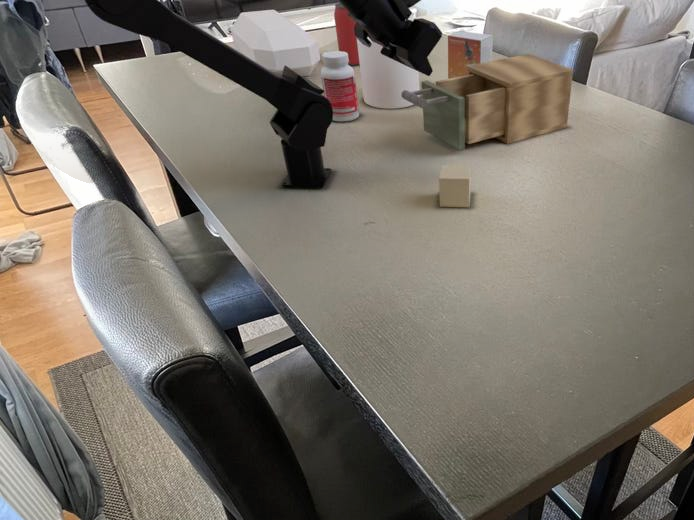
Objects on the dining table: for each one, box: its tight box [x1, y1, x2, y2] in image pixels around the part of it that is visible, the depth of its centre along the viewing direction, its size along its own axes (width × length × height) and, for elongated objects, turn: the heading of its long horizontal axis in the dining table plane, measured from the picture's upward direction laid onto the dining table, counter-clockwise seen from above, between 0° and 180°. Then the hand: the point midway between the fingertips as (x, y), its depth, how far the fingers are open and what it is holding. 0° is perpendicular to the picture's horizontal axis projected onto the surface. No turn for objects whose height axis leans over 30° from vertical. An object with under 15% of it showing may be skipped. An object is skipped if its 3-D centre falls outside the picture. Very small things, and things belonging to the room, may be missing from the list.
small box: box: [447, 30, 494, 79], centre depth 124 cm, size 8×6×10 cm
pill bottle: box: [320, 50, 360, 122], centre depth 111 cm, size 6×6×11 cm
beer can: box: [333, 2, 360, 66], centre depth 138 cm, size 7×7×12 cm
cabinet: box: [467, 53, 574, 145], centre depth 109 cm, size 15×13×10 cm
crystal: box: [230, 9, 321, 78], centre depth 135 cm, size 14×10×28 cm
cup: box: [357, 38, 421, 110], centre depth 118 cm, size 12×12×12 cm
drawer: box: [401, 74, 507, 151], centre depth 103 cm, size 19×11×8 cm, turn 126°
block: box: [438, 165, 471, 208], centre depth 87 cm, size 4×4×4 cm
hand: (430, 73), depth 94 cm, fingers closed
